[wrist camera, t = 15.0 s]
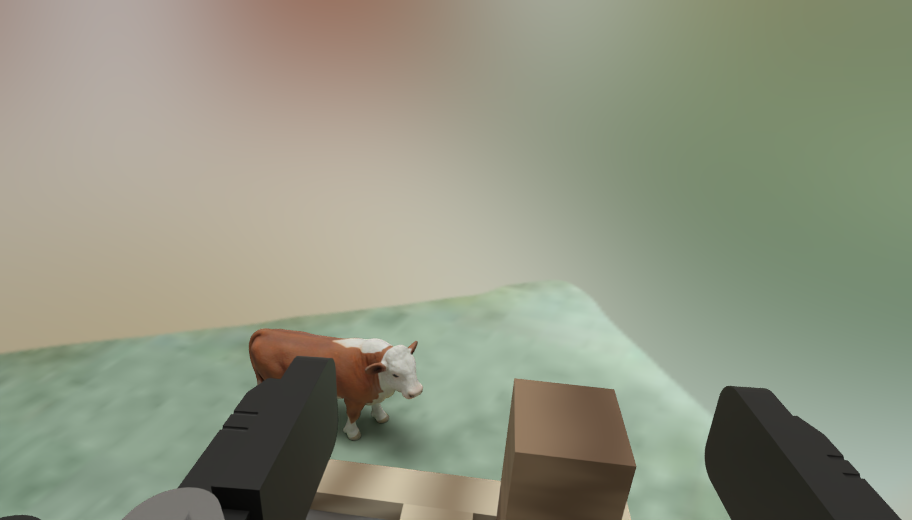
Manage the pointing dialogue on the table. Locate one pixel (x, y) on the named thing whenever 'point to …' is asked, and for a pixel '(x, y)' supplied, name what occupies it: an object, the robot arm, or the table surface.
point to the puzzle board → (403, 495)
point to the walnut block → (565, 454)
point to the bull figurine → (342, 367)
